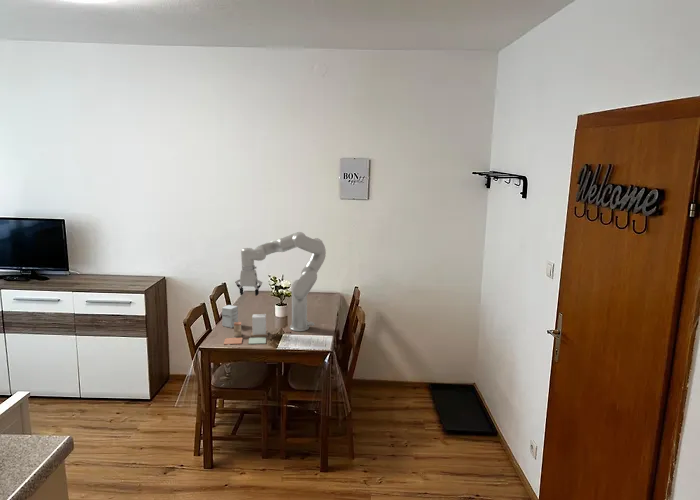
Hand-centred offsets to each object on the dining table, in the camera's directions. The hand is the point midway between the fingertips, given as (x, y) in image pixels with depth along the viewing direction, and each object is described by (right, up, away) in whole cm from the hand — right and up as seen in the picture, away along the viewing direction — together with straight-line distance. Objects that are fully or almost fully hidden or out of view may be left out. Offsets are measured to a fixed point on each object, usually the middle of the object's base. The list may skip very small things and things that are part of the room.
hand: (249, 294), depth 312 cm
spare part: (-6, -24, -5) cm, 26 cm away
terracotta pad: (-6, -26, -15) cm, 31 cm away
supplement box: (-15, -21, +12) cm, 28 cm away
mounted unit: (+7, -24, -4) cm, 25 cm away
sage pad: (+8, -26, -14) cm, 31 cm away
